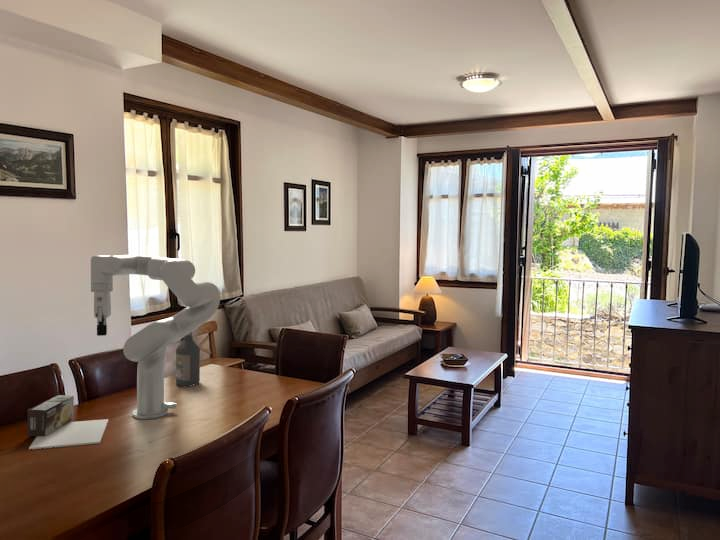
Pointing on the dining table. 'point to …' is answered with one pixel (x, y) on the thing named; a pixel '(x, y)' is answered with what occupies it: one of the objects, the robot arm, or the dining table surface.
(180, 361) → the liquor
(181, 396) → the dining table surface
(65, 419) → the coffee box
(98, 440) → the mat
